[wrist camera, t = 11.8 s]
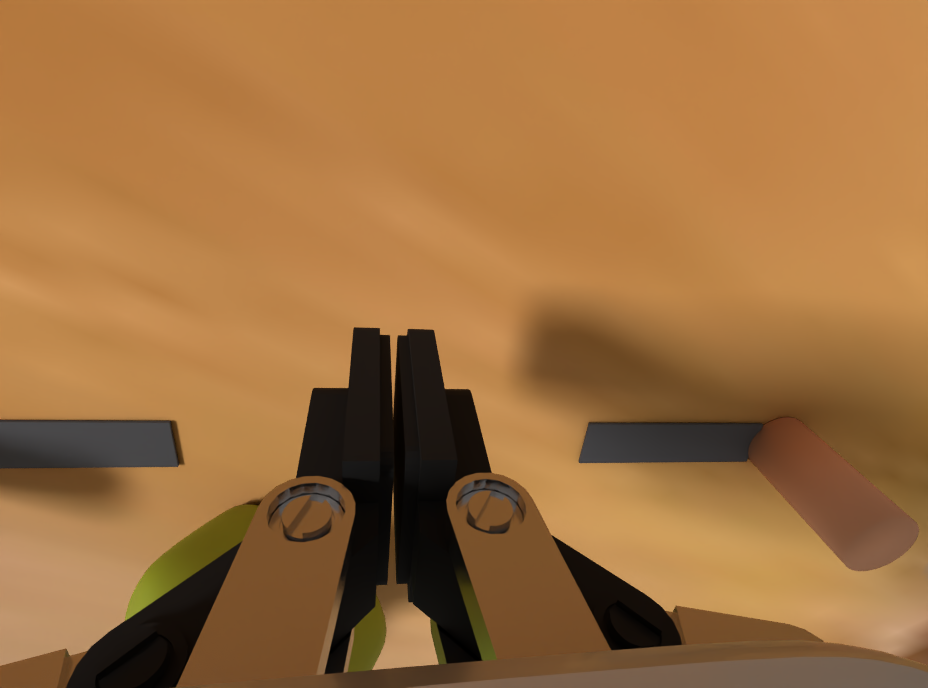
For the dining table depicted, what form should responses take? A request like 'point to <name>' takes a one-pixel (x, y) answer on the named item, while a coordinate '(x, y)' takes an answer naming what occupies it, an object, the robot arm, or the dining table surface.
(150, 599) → the dumbbell
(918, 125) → the dining table surface
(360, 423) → the robot arm
